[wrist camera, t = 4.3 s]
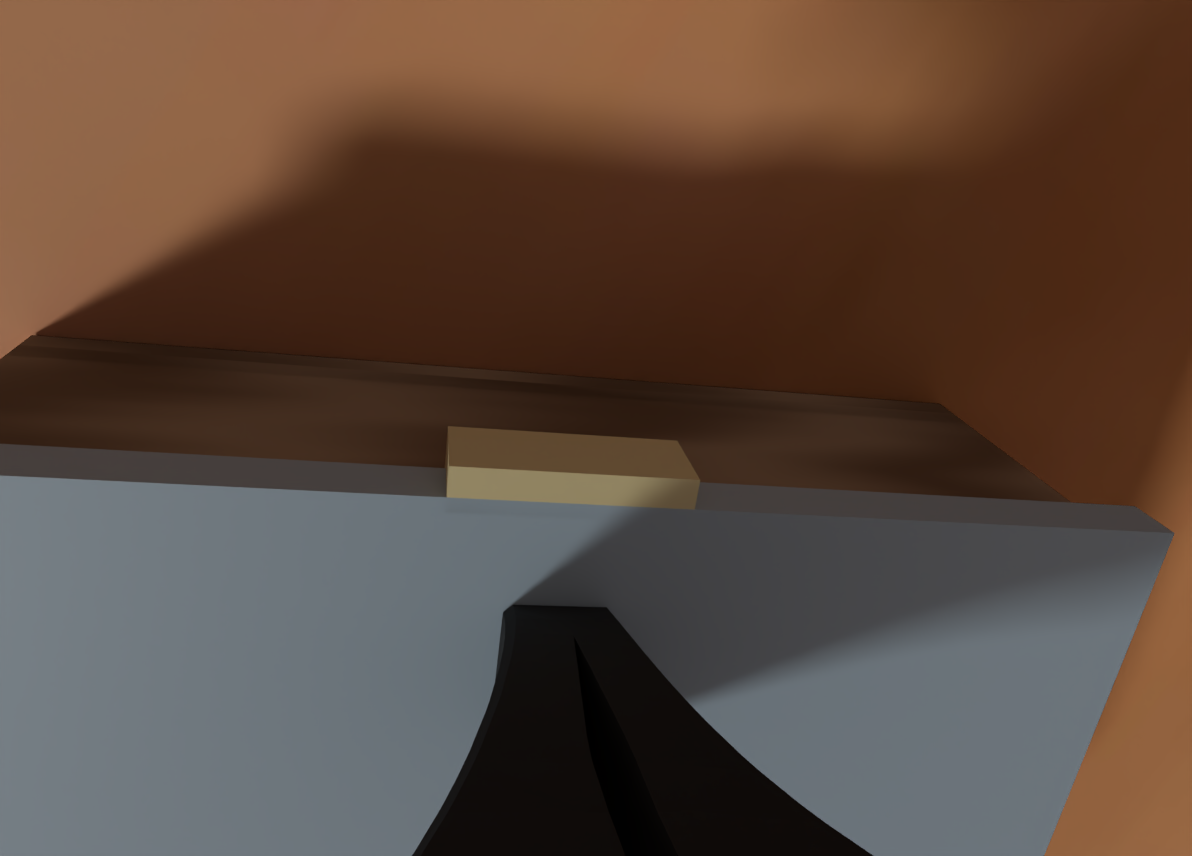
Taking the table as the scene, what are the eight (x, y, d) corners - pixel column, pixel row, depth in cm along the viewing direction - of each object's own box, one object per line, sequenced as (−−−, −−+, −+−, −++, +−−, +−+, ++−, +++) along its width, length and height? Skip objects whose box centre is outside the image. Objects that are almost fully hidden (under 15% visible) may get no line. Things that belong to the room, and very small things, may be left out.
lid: (1125, 469, 14) (1184, 506, 13) (905, 1061, 18) (934, 1126, 17) (-164, 387, 11) (-233, 428, 9) (-35, 1128, 15) (-72, 1212, 14)
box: (940, 403, 18) (1107, 530, 14) (806, 868, 23) (899, 1080, 18) (31, 335, 15) (-144, 468, 11) (83, 888, 20) (-24, 1150, 15)
